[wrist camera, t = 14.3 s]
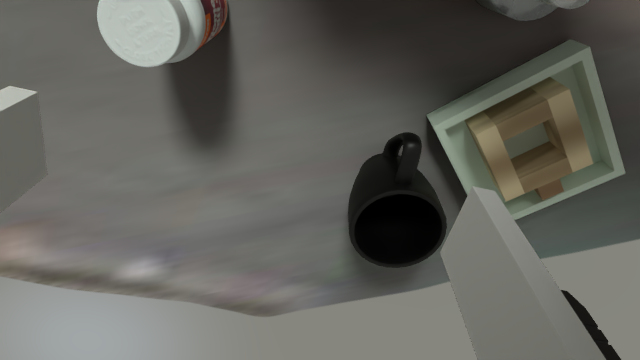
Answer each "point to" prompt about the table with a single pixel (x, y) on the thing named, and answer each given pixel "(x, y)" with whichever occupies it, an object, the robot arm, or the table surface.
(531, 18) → the grey piece
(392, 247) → the mug
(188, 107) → the table surface
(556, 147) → the wooden rectangular frame
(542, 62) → the tray
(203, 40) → the pill bottle
